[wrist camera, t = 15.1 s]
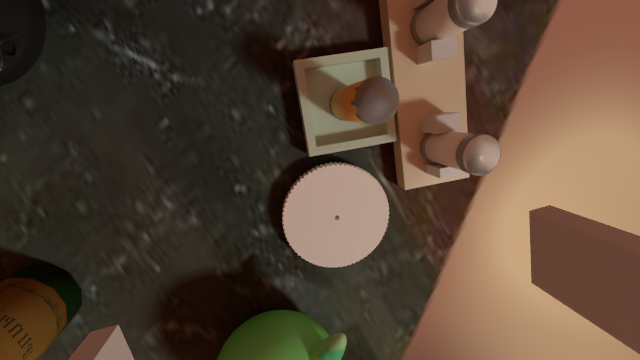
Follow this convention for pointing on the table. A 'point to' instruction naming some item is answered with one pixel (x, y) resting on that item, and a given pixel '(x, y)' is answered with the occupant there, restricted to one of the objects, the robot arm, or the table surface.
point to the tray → (316, 90)
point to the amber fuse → (366, 101)
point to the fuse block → (434, 90)
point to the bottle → (35, 310)
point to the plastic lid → (335, 214)
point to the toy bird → (282, 339)
